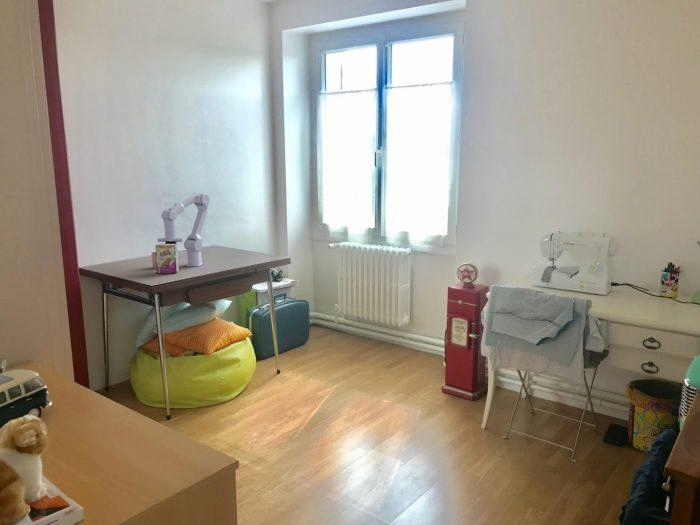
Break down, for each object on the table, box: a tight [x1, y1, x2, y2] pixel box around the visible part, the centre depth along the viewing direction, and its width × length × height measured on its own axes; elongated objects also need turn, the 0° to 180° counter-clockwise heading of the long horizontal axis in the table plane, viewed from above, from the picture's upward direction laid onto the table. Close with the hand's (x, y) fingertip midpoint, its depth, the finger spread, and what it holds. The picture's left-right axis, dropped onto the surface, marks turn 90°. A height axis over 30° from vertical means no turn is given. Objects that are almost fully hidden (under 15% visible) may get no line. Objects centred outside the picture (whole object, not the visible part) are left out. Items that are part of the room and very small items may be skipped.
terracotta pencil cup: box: [151, 251, 157, 270], centre depth 331 cm, size 7×7×9 cm
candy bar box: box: [154, 243, 180, 275], centre depth 316 cm, size 11×5×16 cm, turn 92°
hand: (171, 254), depth 322 cm, fingers closed
